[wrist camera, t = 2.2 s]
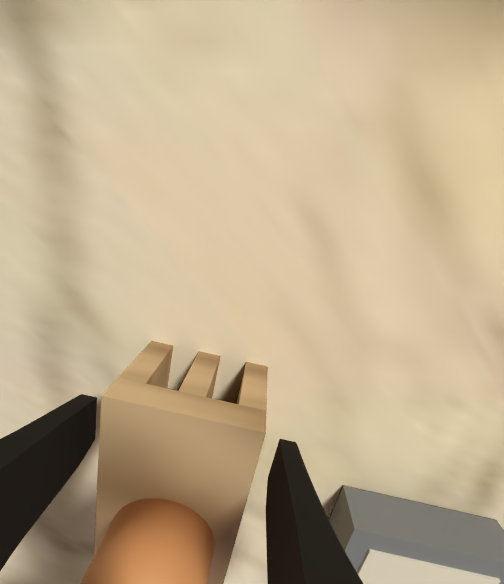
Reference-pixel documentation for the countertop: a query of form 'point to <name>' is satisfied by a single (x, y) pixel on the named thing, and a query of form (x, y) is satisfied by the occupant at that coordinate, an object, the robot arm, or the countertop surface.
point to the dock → (416, 541)
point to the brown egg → (154, 546)
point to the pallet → (180, 444)
